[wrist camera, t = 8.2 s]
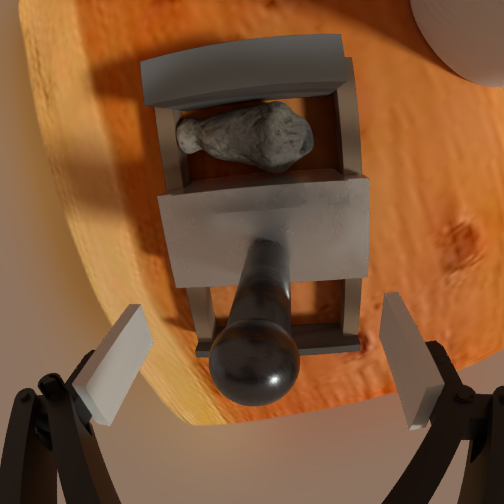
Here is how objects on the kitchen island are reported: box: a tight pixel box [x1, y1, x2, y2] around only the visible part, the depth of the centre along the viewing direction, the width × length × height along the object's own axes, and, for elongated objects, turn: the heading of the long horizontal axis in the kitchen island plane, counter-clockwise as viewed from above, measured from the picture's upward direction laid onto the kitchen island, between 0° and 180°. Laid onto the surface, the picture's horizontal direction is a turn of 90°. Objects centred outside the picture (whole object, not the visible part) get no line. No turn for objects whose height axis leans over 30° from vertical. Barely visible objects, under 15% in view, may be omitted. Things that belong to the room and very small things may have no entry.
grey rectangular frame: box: [140, 34, 362, 357], centre depth 24 cm, size 26×16×9 cm, turn 6°
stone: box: [176, 101, 314, 173], centre depth 23 cm, size 10×5×8 cm
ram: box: [157, 168, 369, 406], centre depth 19 cm, size 8×16×18 cm, turn 96°
